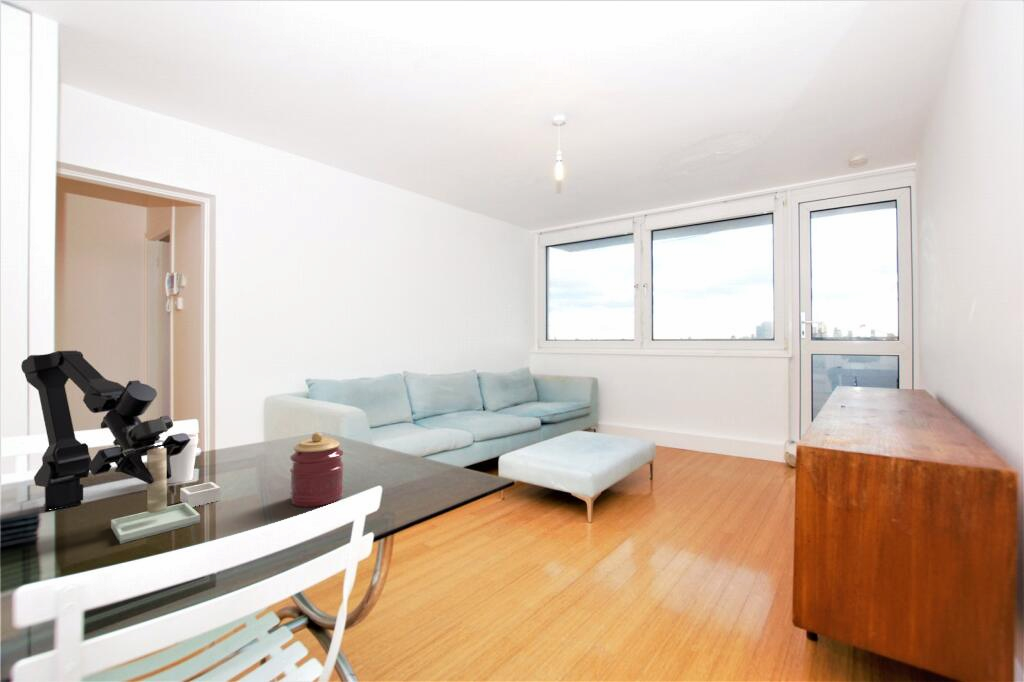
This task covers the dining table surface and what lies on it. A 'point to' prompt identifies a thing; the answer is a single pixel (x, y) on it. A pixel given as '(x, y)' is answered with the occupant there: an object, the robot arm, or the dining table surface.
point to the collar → (200, 494)
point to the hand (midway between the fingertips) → (161, 480)
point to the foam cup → (183, 461)
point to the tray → (154, 522)
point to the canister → (316, 472)
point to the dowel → (157, 480)
